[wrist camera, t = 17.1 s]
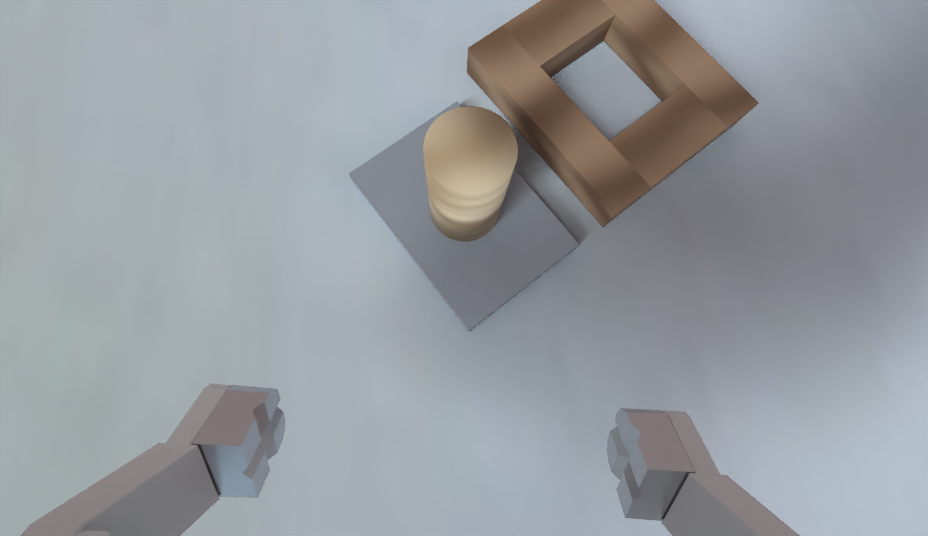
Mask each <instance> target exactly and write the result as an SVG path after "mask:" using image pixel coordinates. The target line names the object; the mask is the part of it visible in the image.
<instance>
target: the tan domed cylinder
mask: <svg viewBox="0 0 928 536" xmlns="http://www.w3.org/2000/svg"><path fill="white" fill-rule="evenodd" d="M423 154H424V163H425V171H426V180H427V189H428V198H429V207H430V214H431V218H432V221H433V223H434V225H435V226H436V228H437V229H438V230H439V231H440V232H441V233H442V234H443V235H445V236H446V237H448V238H450V239H453V240H456V241H462V242H468V241H474V240H477V239H479V238H482V237H483V236H485V235H486V234H487V233H489V232H490V231H491V229H492V228H493V227H494V225H495V223H496V221H497V218H498V215H499V212H500V209H501V206H502V203H503V200H504V197H505V194H506V191H507V188H508V185H509V182H510V179H511V176H512V173H513V170H514V167H515V164H516V161H517V156H518V145H517V140H516V137H515V134H514V132H513V130H512V129H511V127H510V126H509V124H508V123H507V122H506V121H505V120H504V119H503V118H502V117H500V116H499V115H497V114H496V113H494V112H492V111H490V110H487V109H484V108H481V107H474V106H464V107H458V108H455V109H452V110H449V111H447V112H445V113H444V114H442V115H441V116H439V117H438V118H437V119H436V120H435V121H434V122H433V123H432V124H431V126H430V127H429V129H428V131H427V133H426V135H425V139H424V144H423Z"/></svg>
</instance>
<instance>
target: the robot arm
mask: <svg viewBox="0 0 928 536" xmlns="http://www.w3.org/2000/svg"><path fill="white" fill-rule="evenodd" d="M279 401H280V396H279V392H278V389H273V388H261V387H249V386H237V385H222V384H210V385H208V386H207V387H206V388H204V389H203V391H202V392H201V394H200V395H199V396H198V398H197V399H196V401H195V402H194V404H193V405H192V406H191V408H190V409H189V411H188V412H187V414H186V415H185V416H184V418H183V419H182V421H181V422H180V424H179V425H178V426H177V428H176V429H175V431H174V432H173V434H172V435H171V436H170V438H169V439H168V441H167V442H166V443H158V444H157V445H155V446H153V447H152V448H150V449H149V450H147V451H146V452H144V453H142V454H141V455H139V456H138V457H136V458H135V459H133V460H131V461H130V462H128V463H127V464H125V465H123V466H122V467H120V468H119V469H117V470H116V471H114V472H112V473H111V474H109V475H108V476H106V477H105V478H103V479H101V480H100V481H98V482H97V483H95V484H94V485H92V486H90V487H89V488H87V489H86V490H84V491H82V492H81V493H79V494H78V495H76V496H75V497H73V498H71V499H70V500H68V501H67V502H65V503H64V504H62V505H60V506H59V507H57V508H56V509H54V510H52V511H51V512H49V513H48V514H46V515H45V516H43V517H41V518H40V519H38V520H37V521H35V522H34V523H32V524H30V525H29V526H28V528H27V529H26V530H25V531H24V532H23V534H22V535H21V536H180V535H181V534H182V533H183V532H184V531H186V530H187V529H188V528H189V527H190V526H191V525H192V524H193V523H194V522H195V521H196V520H197V519H198V518H199V517H201V516H202V515H203V514H204V513H205V512H206V511H207V510H208V509H209V508H210V507H211V506H212V505H213V504H214V503H216V502H217V501H218V500H219V497H255V498H258V496H259V494H260V491H261V489H262V487H263V485H264V482H265V480H266V478H267V476H268V473H269V471H270V469H269V465H268V461H267V460H269V459H270V458H271V457H272V456H274V455H275V454H276V453H277V452H278V450H279V448H280V445H281V443H282V440H283V435H284V431H285V417H284V412H283V411H282V410H281V409H279V408H278V407H277V405H278V403H279ZM615 420H616V423H617V427H616V428H614V429H613V430H611V431H610V434H609V438H608V444H607V454H608V461H609V465H610V468H611V471H612V472H613V473H614V475H615V476H616V477H617V478H618V479H619V480H620V482H619V485H618V487H617V492H618V496H619V499H620V502H621V506H622V509H623V513H624V516H625V518H634V519H646V520H658V521H663V522H662V524H663V525H664V526H665V527H666V528H667V530H668V531H669V532H670V533H671V534H672V536H799V535H798V534H797V533H796V532H795V531H793V530H792V529H791V528H790V527H789V526H787V525H786V524H785V523H784V522H783V521H781V520H780V519H779V518H778V517H777V516H775V515H774V514H773V513H772V512H771V511H769V510H768V509H767V508H766V507H765V506H763V505H762V504H761V503H760V502H759V501H757V500H756V499H755V498H754V497H752V496H751V495H750V494H749V493H748V492H746V491H745V490H744V489H743V488H742V487H740V486H739V485H738V484H737V483H736V482H734V481H733V480H732V479H731V478H730V477H728V476H727V475H720V473H719V471H718V469H717V467H716V466H715V464H714V462H713V460H712V458H711V456H710V454H709V452H708V450H707V449H706V447H705V445H704V443H703V441H702V439H701V437H700V435H699V433H698V431H697V430H696V428H695V426H694V424H693V422H692V420H691V418H690V416H689V415H688V414H687V413H686V412H679V411H661V410H647V409H625V408H621V409H620V410H619V411H618V413H617V415H616V418H615Z"/></svg>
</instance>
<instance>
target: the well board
mask: <svg viewBox="0 0 928 536" xmlns="http://www.w3.org/2000/svg"><path fill="white" fill-rule="evenodd" d="M602 41H605V42H606V43H607V45H608V46H609V47H610V48H611V49H612V50H613V51H614V52H615V53H616V54H617V55H618V56H619V57H620V58H621V59H622V60H623V61H624V62H625V63H626V64H627V65H628V66H629V67H630V68H631V69H632V70H633V71H634V72H635V73H636V74H637V75H638V76H639V78H640V79H641V80H642V81H643V82H644V83H645V84H646V85H647V86H648V87H649V88H650V89H651V90H652V91H653V92H654V93H655V94H656V95H657V96H658V97H659V98H660V99H661V100H662V101H663V102H661V103H660V104H659V105H657V106H656V107H655V108H653V109H652V110H651V111H649V112H648V113H646V114H645V115H644V116H642V117H641V118H640V119H638V120H637V121H636V122H634V123H633V124H632V125H630V126H629V127H628V128H626V129H625V130H624V131H622V132H621V133H619V134H618V135H617V136H615V137H614V138H613V139H611V140H610V141H608V140H607V138H606V137H605V136H604V135H603V134H602V133H601V132H600V131H599V130H598V129H597V128H596V127H595V125H594V124H593V123H592V122H591V121H590V120H589V119H588V118H587V117H586V116H585V115H584V114H583V112H582V111H581V110H580V109H579V108H578V107H577V106H576V105H575V104H574V103H573V102H572V100H571V99H570V98H569V97H568V96H567V95H566V94H565V93H564V92H563V91H562V90H561V89H560V87H559V86H558V85H557V84H556V83H555V82H554V81H553V80H552V79H551V78H550V77H552V76H553V75H554V74H556V73H557V72H559V71H560V70H562V69H563V68H565V67H566V66H568V65H569V64H570V63H572V62H573V61H575V60H576V59H578V58H579V57H581V56H582V55H584V54H585V53H586V52H588V51H589V50H591V49H592V48H594V47H595V46H597V45H598V44H600V43H601V42H602ZM467 73H468V74H469V75H470V76H471V78H472V79H473V80H474V81H475V82H476V83H477V84H478V85H479V87H480V88H481V89H482V90H483V91H484V92H485V93H486V95H487V96H488V97H489V98H490V99H491V100H492V101H493V103H494V104H495V105H496V106H497V107H498V108H499V109H500V111H501V112H502V113H503V114H504V115H505V116H506V117H507V118H508V120H509V121H510V122H511V123H512V124H513V125H514V126H515V128H516V129H517V130H518V131H519V132H520V133H521V134H522V136H523V137H524V138H525V139H526V140H527V141H528V142H529V144H530V145H531V146H532V147H533V148H534V149H535V150H536V151H537V153H538V154H539V155H540V156H541V157H542V158H543V159H544V161H545V162H546V163H547V164H548V165H549V166H550V167H551V169H552V170H553V171H554V172H555V173H556V174H557V175H558V177H559V178H560V179H561V180H562V181H563V182H564V183H565V184H566V186H567V187H568V188H569V189H570V190H571V191H572V192H573V194H574V195H575V196H576V197H577V198H578V199H579V200H580V202H581V203H582V204H583V205H584V206H585V207H586V208H587V210H588V211H589V212H590V213H591V214H592V215H593V216H594V217H595V219H596V220H597V221H598V222H599V223H600V224H601V225H602V227H604V226H605V225H606V224H607V223H609V222H610V221H611V220H613V219H614V218H615V217H616V216H618V215H619V214H620V213H622V212H623V211H624V210H625V209H627V208H628V207H629V206H630V205H632V204H633V203H634V202H636V201H637V200H638V199H639V198H641V197H642V196H643V195H645V194H646V193H647V192H648V191H650V190H651V189H652V188H653V187H655V186H656V185H657V184H659V183H660V182H661V181H662V180H664V179H665V178H666V177H668V176H669V175H670V174H671V173H673V172H674V171H675V170H677V169H678V168H679V167H680V166H682V165H683V164H684V163H685V162H687V161H688V160H689V159H691V158H692V157H693V156H694V155H696V154H697V153H698V152H700V151H701V150H702V149H703V148H705V147H706V146H707V145H709V144H710V143H711V142H712V141H714V140H715V139H716V138H717V137H719V136H720V135H721V134H723V133H724V132H725V131H726V130H728V129H729V128H730V127H732V126H733V125H734V124H735V123H737V122H738V121H739V120H740V119H741V118H742V117H743V116H745V115H746V114H747V113H748V112H749V111H750V110H751V109H753V108H754V107H755V106H756V105H757V104H758V102H757V101H756V100H755V99H754V98H753V97H752V96H751V95H750V94H749V93H748V92H747V91H746V90H745V89H744V88H743V87H742V86H741V85H740V84H739V83H738V82H737V81H736V80H735V79H734V78H733V77H732V76H731V75H730V74H729V73H728V72H727V71H726V70H725V69H724V68H722V67H721V66H720V65H719V64H718V63H717V62H716V61H715V60H714V59H713V58H712V57H711V56H710V55H709V54H708V53H707V52H706V51H705V50H704V49H703V48H702V47H701V46H700V45H699V44H698V43H697V42H696V41H695V40H694V39H693V38H692V37H691V36H690V35H689V34H688V33H687V32H686V31H685V30H684V29H683V28H682V27H681V26H680V25H679V24H678V23H677V22H676V21H675V20H674V19H673V18H671V17H670V16H669V15H668V14H667V13H666V12H665V11H664V10H663V9H662V8H661V7H660V6H659V5H658V4H657V3H656V2H655V1H654V0H541V1H540V2H538V3H537V4H535V5H534V6H532V7H530V8H529V9H527V10H526V11H524V12H523V13H521V14H520V15H518V16H517V17H515V18H513V19H512V20H510V21H509V22H507V23H506V24H504V25H503V26H501V27H500V28H498V29H496V30H495V31H493V32H492V33H490V34H489V35H487V36H486V37H484V38H483V39H481V40H480V41H478V42H476V43H475V44H473V45H472V46H470V47H469V48H468V62H467Z"/></svg>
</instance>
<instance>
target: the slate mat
mask: <svg viewBox="0 0 928 536" xmlns="http://www.w3.org/2000/svg"><path fill="white" fill-rule="evenodd" d="M458 107H461V106H460V105H459V104H458V102H455V103H454V104H452V105H451V106H449V107H448V108H446V109H445V110H443V111H442V112H440V113H439V114H437V115H436V116H434V117H433V118H432V119H430V120H429V121H427V122H426V123H424V124H423V125H421V126H420V127H418V128H417V129H415V130H414V131H412V132H411V133H409V134H408V135H406V136H405V137H403V138H402V139H400V140H399V141H397V142H396V143H394V144H393V145H391V146H390V147H388V148H387V149H385V150H384V151H382V152H381V153H379V154H378V155H376V156H375V157H373V158H372V159H370V160H369V161H367V162H366V163H364V164H363V165H361V166H360V167H358V168H357V169H355V170H354V171H352V172H351V173H349V175H350V176H351V178H352V180H353V182H354V183H355V184H356V185H357V187H358V188H359V189H360V191H361V192H362V193H363V194H364V196H365V197H366V198H367V200H368V201H369V202H370V204H371V205H372V206H373V207H374V209H375V210H376V211H377V213H378V214H379V215H380V217H381V218H382V219H383V220H384V222H385V223H386V224H387V226H388V227H389V228H390V229H391V231H392V232H393V233H394V235H395V236H396V237H397V239H398V240H399V241H400V242H401V244H402V245H403V246H404V248H405V249H406V250H407V252H408V253H409V254H410V255H411V257H412V258H413V259H414V261H415V262H416V263H417V264H418V266H419V267H420V268H421V270H422V271H423V272H424V274H425V275H426V276H427V277H428V279H429V280H430V281H431V283H432V284H433V285H434V287H435V288H436V289H437V290H438V292H439V293H440V294H441V296H442V297H443V298H444V299H445V301H446V302H447V303H448V305H449V306H450V307H451V309H452V310H453V311H454V312H455V314H456V315H457V316H458V318H459V319H460V320H461V321H462V323H463V324H464V325H465V327H466V328H467V329H468V331H471V330H472V329H473V328H474V327H476V326H477V325H478V324H479V323H481V322H482V321H483V320H485V319H486V318H487V317H488V316H490V315H491V314H492V313H494V312H495V311H496V310H497V309H499V308H500V307H501V306H503V305H504V304H505V303H506V302H508V301H509V300H510V299H511V298H513V297H514V296H515V295H517V294H518V293H519V292H520V291H522V290H523V289H524V288H526V287H527V286H528V285H529V284H531V283H532V282H533V281H534V280H536V279H537V278H538V277H540V276H541V275H542V274H543V273H545V272H546V271H547V270H549V269H550V268H551V267H552V266H554V265H555V264H556V263H558V262H559V261H560V260H561V259H563V258H564V257H565V256H566V255H568V254H569V253H570V252H572V251H573V250H574V249H575V248H576V247H577V246H578V245H579V243H578V242H577V241H576V240H575V239H574V237H573V236H572V235H571V234H570V233H569V232H568V230H567V229H566V228H565V227H564V226H563V225H562V223H561V222H560V221H559V220H558V219H557V218H556V216H555V215H554V214H553V213H552V212H551V211H550V209H549V208H548V207H547V206H546V205H545V204H544V202H543V201H542V200H541V199H540V198H539V197H538V195H537V194H536V193H535V192H534V191H533V190H532V189H531V187H530V186H529V185H528V184H527V183H526V182H525V180H524V179H523V178H522V177H521V176H520V175H519V173H518V172H517V171H516V170H515V169H514V170H513V173H512V176H511V179H510V182H509V185H508V188H507V191H506V194H505V197H504V200H503V203H502V206H501V209H500V212H499V215H498V218H497V221H496V223H495V225H494V227H493V228H492V229H491V231H490V232H489V233H487V234H486V235H485V236H483V237H482V238H479V239H477V240H474V241H468V242H462V241H456V240H453V239H450V238H448V237H446V236H445V235H443V234H442V233H441V232H440V231H439V230H438V229H437V228H436V226H435V225H434V223H433V221H432V218H431V214H430V207H429V198H428V189H427V180H426V171H425V163H424V154H423V144H424V139H425V135H426V133H427V131H428V129H429V127H430V126H431V124H432V123H433V122H434V121H435V120H436V119H437V118H438V117H439V116H441V115H442V114H444V113H445V112H447V111H449V110H452V109H455V108H458Z"/></svg>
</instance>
